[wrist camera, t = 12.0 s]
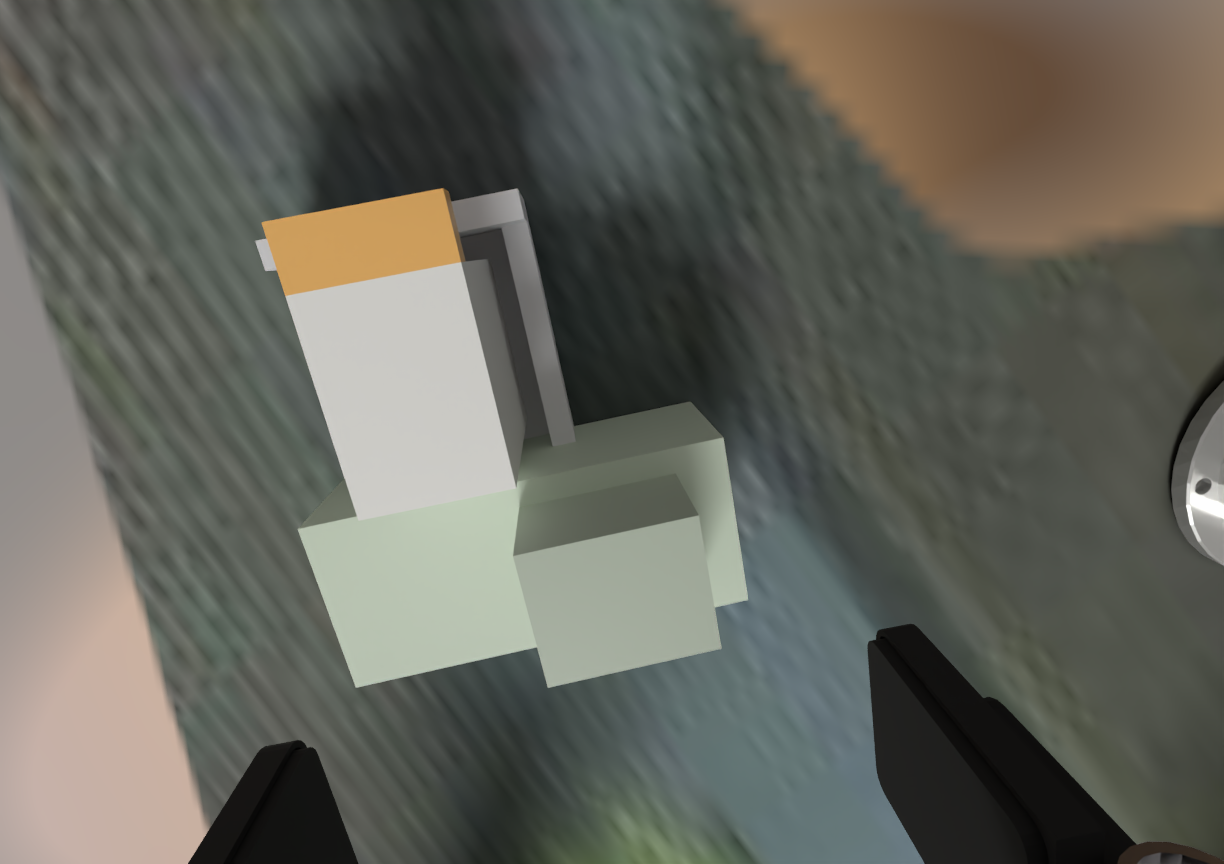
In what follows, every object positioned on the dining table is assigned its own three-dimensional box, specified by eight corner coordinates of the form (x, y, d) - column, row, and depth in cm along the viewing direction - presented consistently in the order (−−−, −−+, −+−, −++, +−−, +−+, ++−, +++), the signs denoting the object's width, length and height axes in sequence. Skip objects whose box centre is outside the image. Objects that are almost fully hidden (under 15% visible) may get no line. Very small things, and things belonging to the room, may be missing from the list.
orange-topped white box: (479, 208, 26) (442, 188, 18) (527, 417, 29) (516, 488, 20) (357, 231, 26) (261, 222, 17) (416, 439, 29) (358, 520, 20)
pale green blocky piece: (652, 173, 27) (708, 131, 17) (712, 536, 32) (782, 660, 22) (272, 250, 26) (113, 249, 17) (392, 606, 31) (321, 765, 22)
